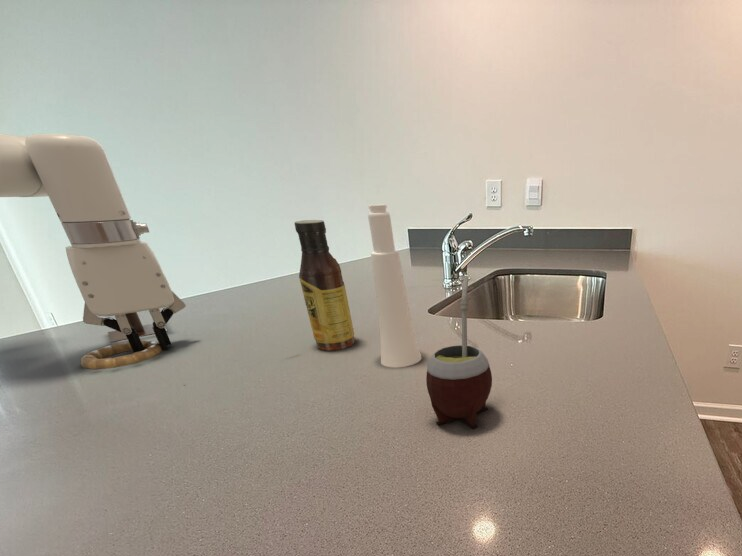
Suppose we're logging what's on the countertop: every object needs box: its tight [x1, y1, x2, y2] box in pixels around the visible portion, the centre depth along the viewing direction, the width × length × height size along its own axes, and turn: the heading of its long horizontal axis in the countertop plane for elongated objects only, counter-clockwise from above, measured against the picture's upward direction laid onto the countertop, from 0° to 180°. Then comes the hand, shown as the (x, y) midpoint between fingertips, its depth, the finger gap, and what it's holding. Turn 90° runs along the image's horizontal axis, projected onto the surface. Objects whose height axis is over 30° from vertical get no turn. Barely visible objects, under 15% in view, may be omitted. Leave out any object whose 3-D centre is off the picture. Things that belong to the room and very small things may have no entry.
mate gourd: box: [425, 275, 493, 430], centre depth 44 cm, size 8×8×15 cm
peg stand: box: [107, 312, 168, 344], centre depth 74 cm, size 8×8×10 cm
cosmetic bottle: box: [367, 203, 422, 368], centre depth 57 cm, size 6×6×22 cm
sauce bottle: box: [294, 219, 356, 352], centre depth 64 cm, size 6×6×20 cm
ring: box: [80, 340, 164, 370], centre depth 64 cm, size 10×10×2 cm
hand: (154, 351), depth 67 cm, fingers closed on ring, 2 cm apart
